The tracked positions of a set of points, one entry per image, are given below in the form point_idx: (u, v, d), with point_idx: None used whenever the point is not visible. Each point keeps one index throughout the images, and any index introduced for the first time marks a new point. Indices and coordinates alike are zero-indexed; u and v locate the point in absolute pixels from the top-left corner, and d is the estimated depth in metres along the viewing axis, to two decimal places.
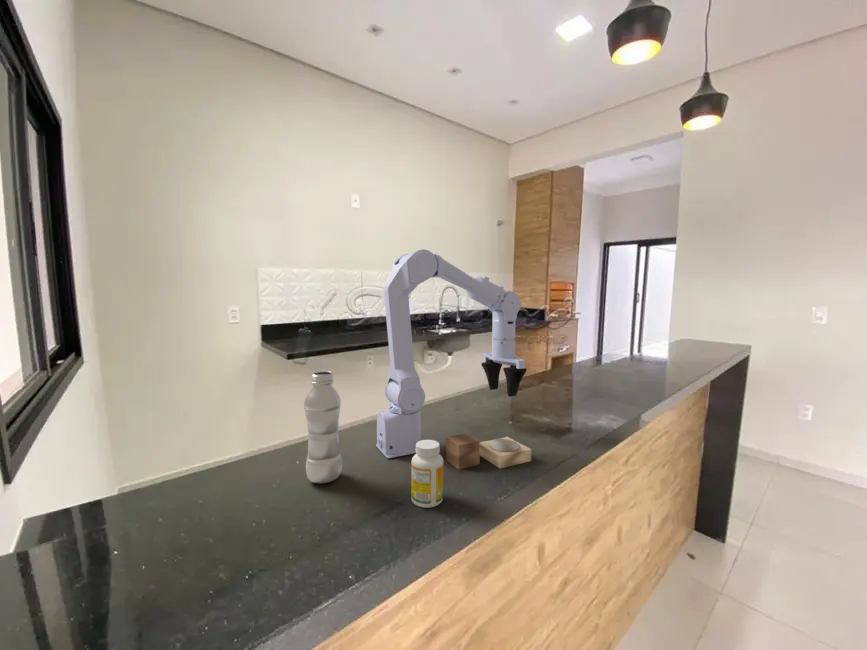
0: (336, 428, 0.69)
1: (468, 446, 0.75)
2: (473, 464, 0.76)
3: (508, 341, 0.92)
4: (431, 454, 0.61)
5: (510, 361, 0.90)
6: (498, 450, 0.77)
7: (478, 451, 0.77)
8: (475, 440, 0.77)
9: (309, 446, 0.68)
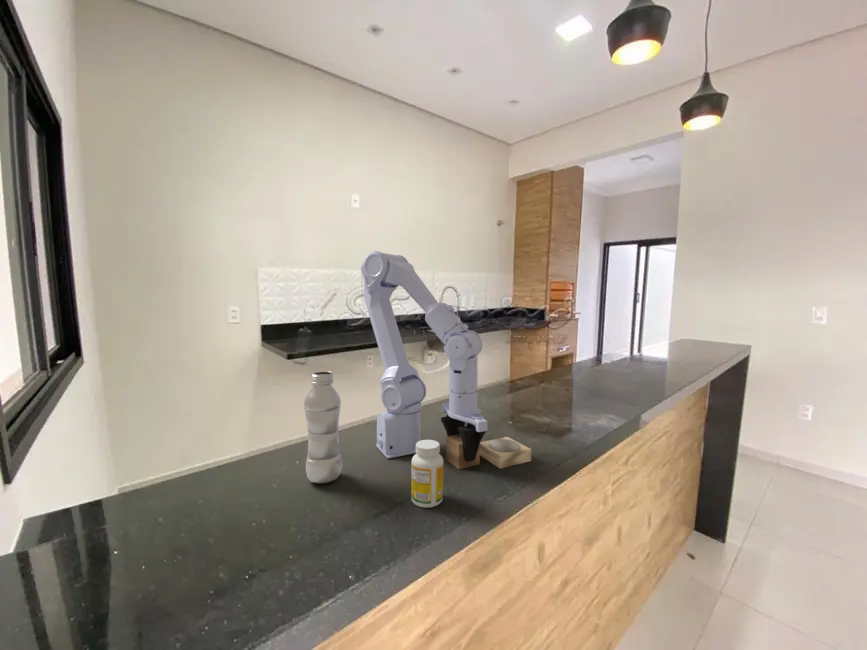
0: (336, 428, 0.69)
1: None
2: (473, 463, 0.76)
3: (467, 395, 0.74)
4: (431, 454, 0.61)
5: (469, 421, 0.72)
6: (498, 450, 0.77)
7: (478, 450, 0.77)
8: None
9: (309, 446, 0.68)
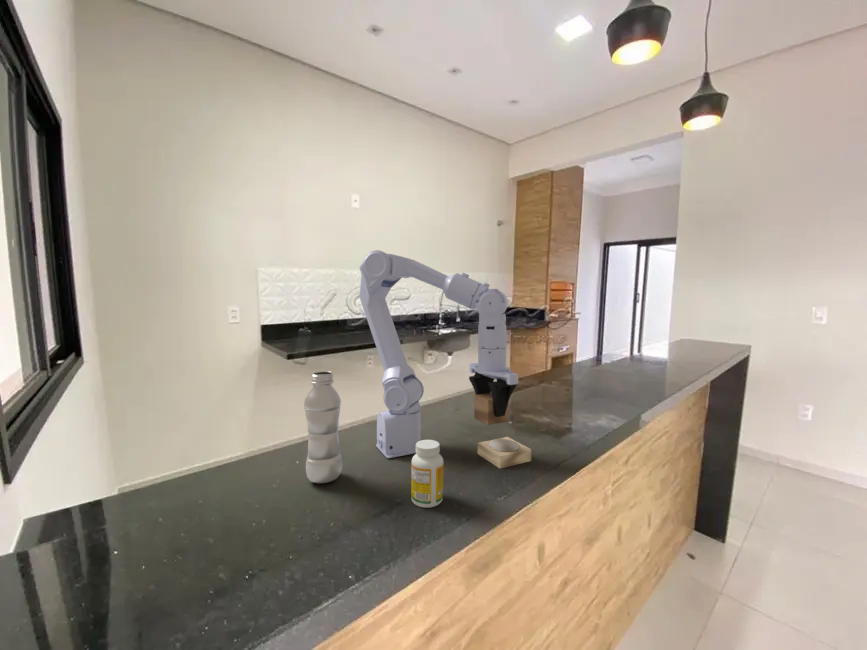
0: (336, 428, 0.69)
1: None
2: (502, 420, 0.77)
3: (497, 350, 0.75)
4: (431, 454, 0.61)
5: (499, 375, 0.73)
6: (498, 450, 0.77)
7: (507, 408, 0.77)
8: None
9: (309, 446, 0.68)
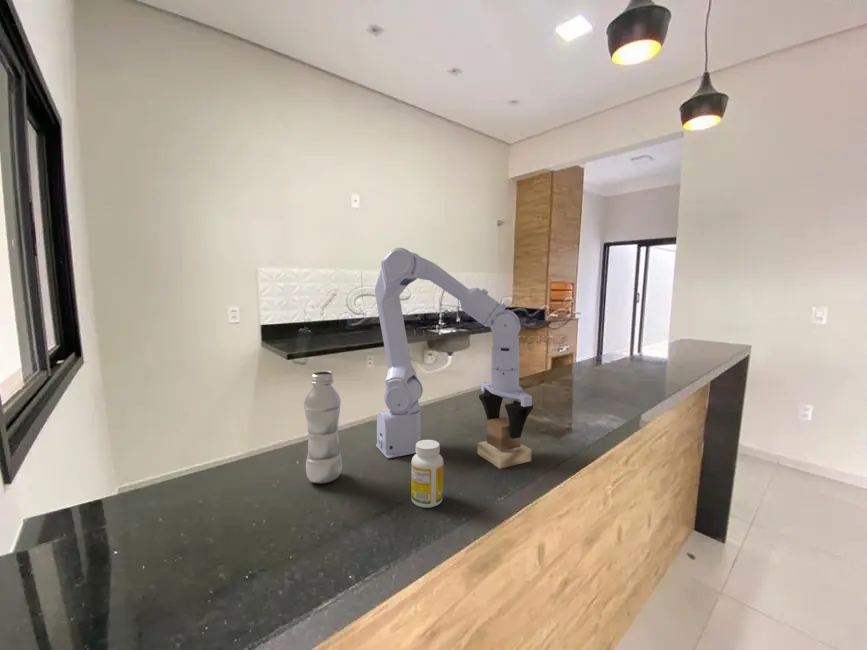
0: (336, 428, 0.69)
1: None
2: (514, 446, 0.78)
3: (511, 372, 0.76)
4: (431, 454, 0.61)
5: (513, 397, 0.74)
6: (498, 450, 0.77)
7: None
8: None
9: (309, 446, 0.68)
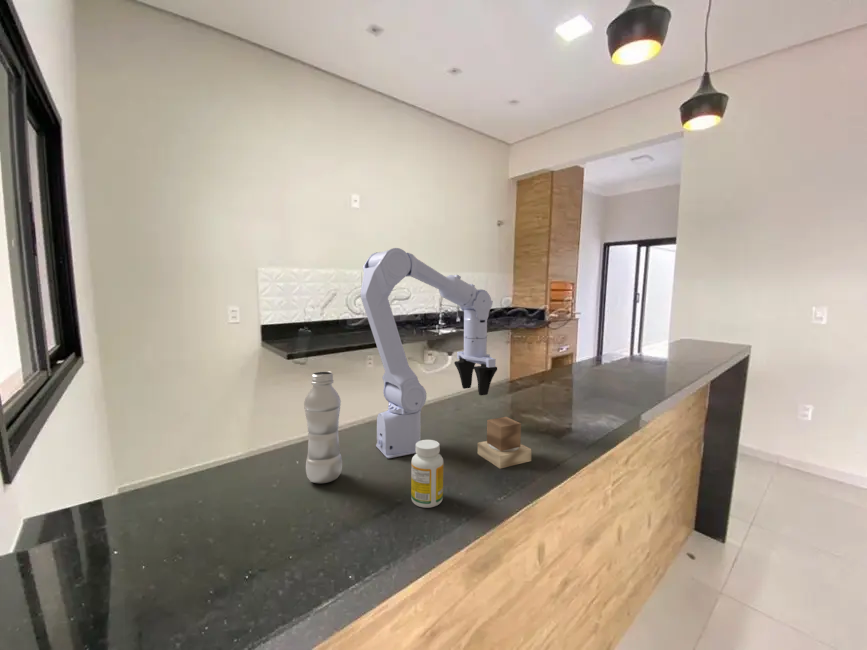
0: (336, 428, 0.69)
1: (510, 428, 0.77)
2: (514, 446, 0.78)
3: (479, 340, 0.92)
4: (431, 454, 0.61)
5: (480, 360, 0.90)
6: (498, 450, 0.77)
7: (519, 433, 0.79)
8: (516, 423, 0.79)
9: (309, 446, 0.68)
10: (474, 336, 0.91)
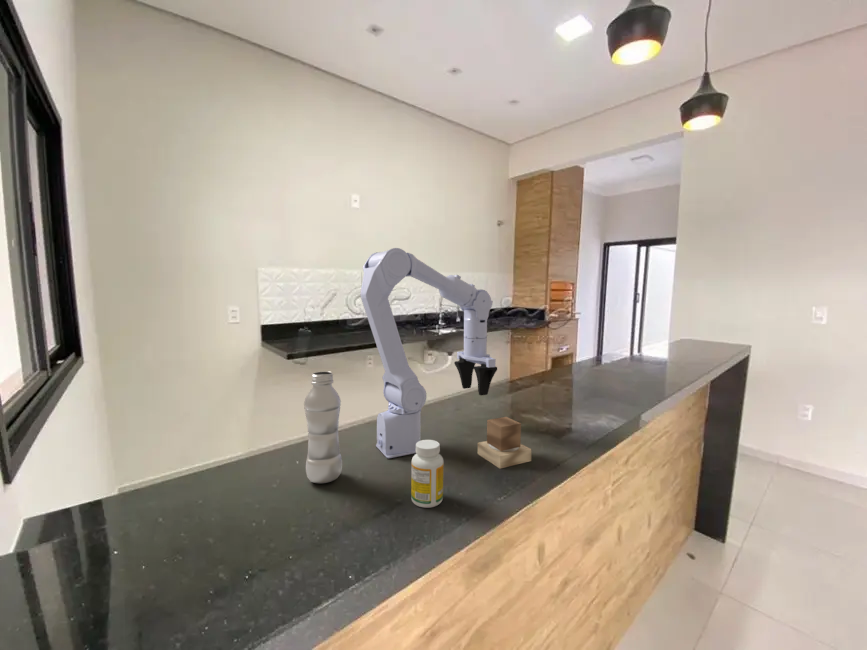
0: (336, 428, 0.69)
1: (510, 428, 0.77)
2: (514, 446, 0.78)
3: (479, 340, 0.92)
4: (431, 454, 0.61)
5: (480, 360, 0.90)
6: (498, 450, 0.77)
7: (519, 433, 0.79)
8: (516, 423, 0.79)
9: (309, 446, 0.68)
10: (474, 336, 0.91)
